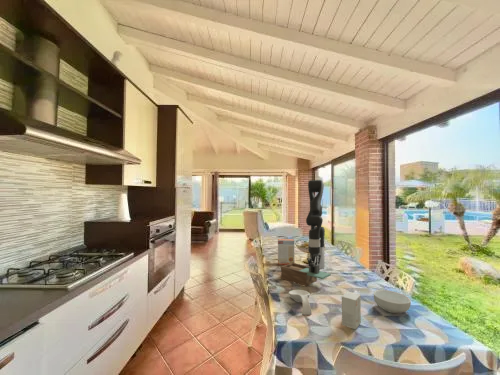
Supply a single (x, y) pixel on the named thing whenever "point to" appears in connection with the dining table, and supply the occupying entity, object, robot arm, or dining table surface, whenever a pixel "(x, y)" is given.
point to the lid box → (296, 274)
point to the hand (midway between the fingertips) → (314, 271)
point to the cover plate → (322, 274)
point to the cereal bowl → (392, 301)
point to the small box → (351, 310)
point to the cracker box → (285, 251)
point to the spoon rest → (302, 300)
